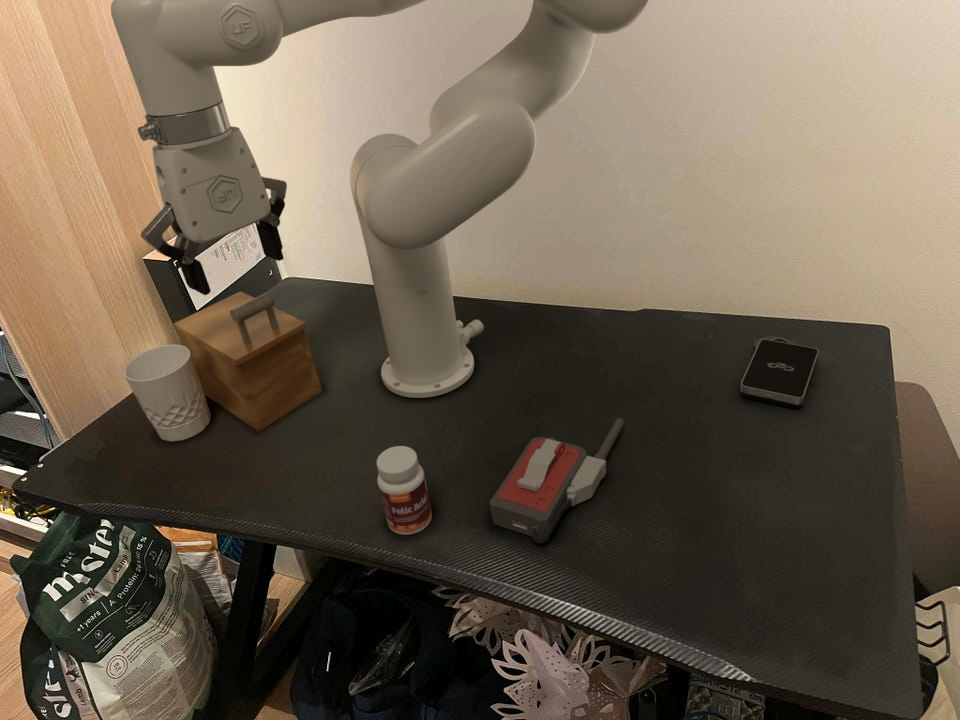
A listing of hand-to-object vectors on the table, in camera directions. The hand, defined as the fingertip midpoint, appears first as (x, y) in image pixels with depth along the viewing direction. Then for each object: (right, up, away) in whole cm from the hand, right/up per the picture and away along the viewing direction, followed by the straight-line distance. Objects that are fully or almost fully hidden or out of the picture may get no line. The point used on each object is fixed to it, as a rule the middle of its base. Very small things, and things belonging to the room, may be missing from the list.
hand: (239, 273), depth 82 cm
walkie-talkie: (+37, -23, -5) cm, 43 cm away
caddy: (-2, -14, +14) cm, 21 cm away
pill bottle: (+21, -27, -8) cm, 35 cm away
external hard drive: (+64, -13, +4) cm, 66 cm away
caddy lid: (-3, -6, +8) cm, 11 cm away
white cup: (-10, -19, +10) cm, 24 cm away
